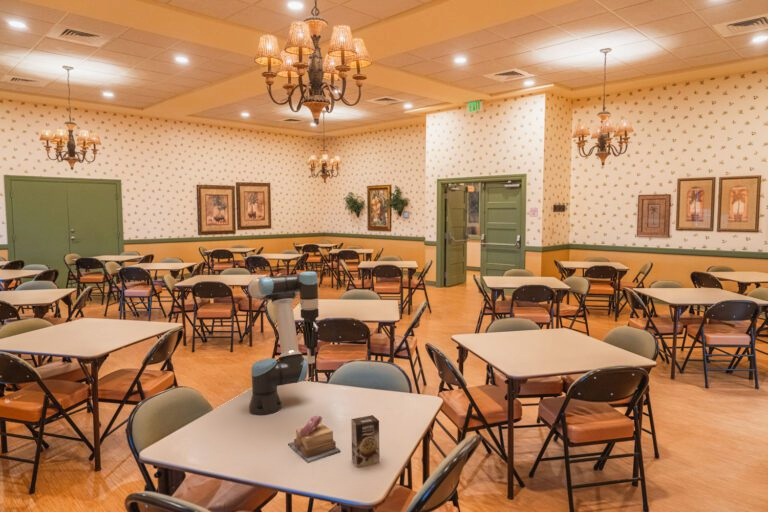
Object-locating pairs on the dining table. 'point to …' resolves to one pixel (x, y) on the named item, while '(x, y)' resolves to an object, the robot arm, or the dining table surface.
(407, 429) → the dining table surface
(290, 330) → the robot arm
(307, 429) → the video game controller
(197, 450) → the dining table surface
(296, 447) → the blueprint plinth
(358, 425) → the coffee box
